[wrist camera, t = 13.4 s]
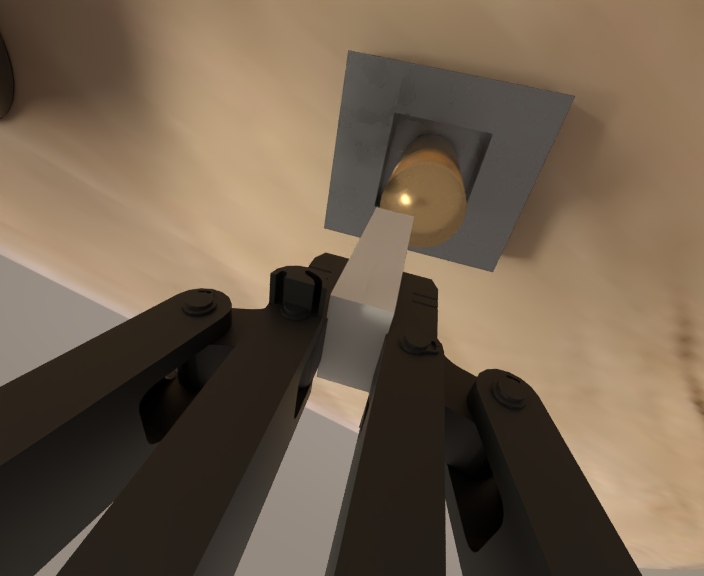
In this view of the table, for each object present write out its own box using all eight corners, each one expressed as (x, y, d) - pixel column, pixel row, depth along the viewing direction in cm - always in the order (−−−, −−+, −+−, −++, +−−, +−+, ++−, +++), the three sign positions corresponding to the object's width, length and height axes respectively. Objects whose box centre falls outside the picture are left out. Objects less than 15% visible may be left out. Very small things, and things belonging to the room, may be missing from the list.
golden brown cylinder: (394, 187, 31) (373, 238, 22) (406, 129, 29) (389, 156, 19) (448, 198, 31) (451, 255, 21) (465, 140, 28) (479, 174, 18)
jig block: (335, 214, 35) (324, 228, 32) (359, 54, 28) (348, 50, 24) (488, 253, 34) (492, 272, 30) (558, 94, 26) (575, 96, 23)
